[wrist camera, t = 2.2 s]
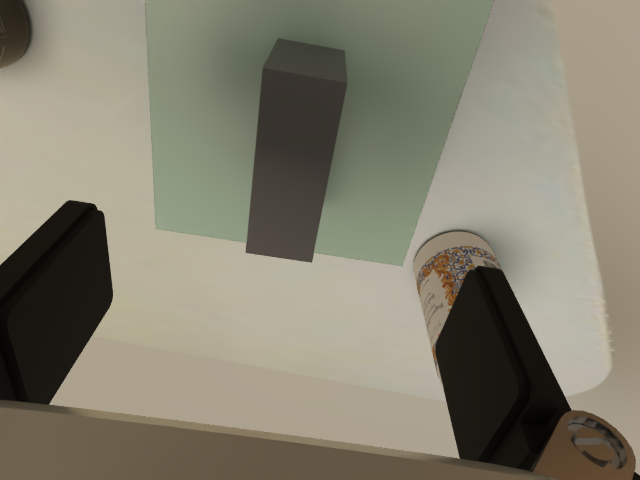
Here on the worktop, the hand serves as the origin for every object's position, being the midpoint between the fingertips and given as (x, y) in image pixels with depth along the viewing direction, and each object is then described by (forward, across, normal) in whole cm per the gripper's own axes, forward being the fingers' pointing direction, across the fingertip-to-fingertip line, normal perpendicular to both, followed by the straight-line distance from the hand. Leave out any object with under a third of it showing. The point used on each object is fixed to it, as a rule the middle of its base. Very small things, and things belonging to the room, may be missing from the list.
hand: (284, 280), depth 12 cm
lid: (+12, 0, -1) cm, 12 cm away
